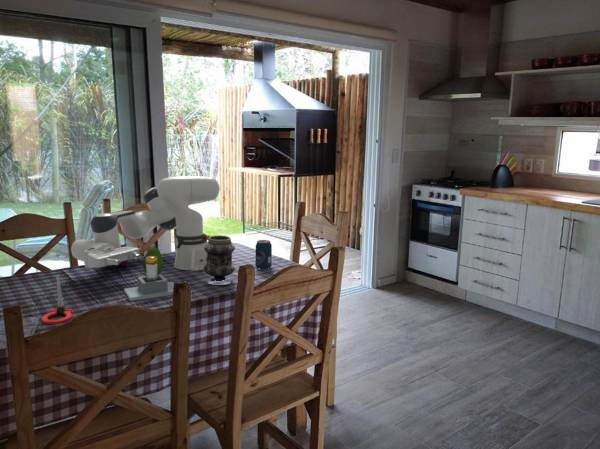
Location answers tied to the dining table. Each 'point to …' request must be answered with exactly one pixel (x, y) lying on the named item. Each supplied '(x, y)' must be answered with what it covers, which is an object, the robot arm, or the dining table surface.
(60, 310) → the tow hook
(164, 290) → the grey box on plate
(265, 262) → the soda can
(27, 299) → the dining table surface
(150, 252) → the avocado
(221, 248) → the ornate stone vase
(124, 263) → the mounting bracket
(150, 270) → the white gold-topped cylinder
